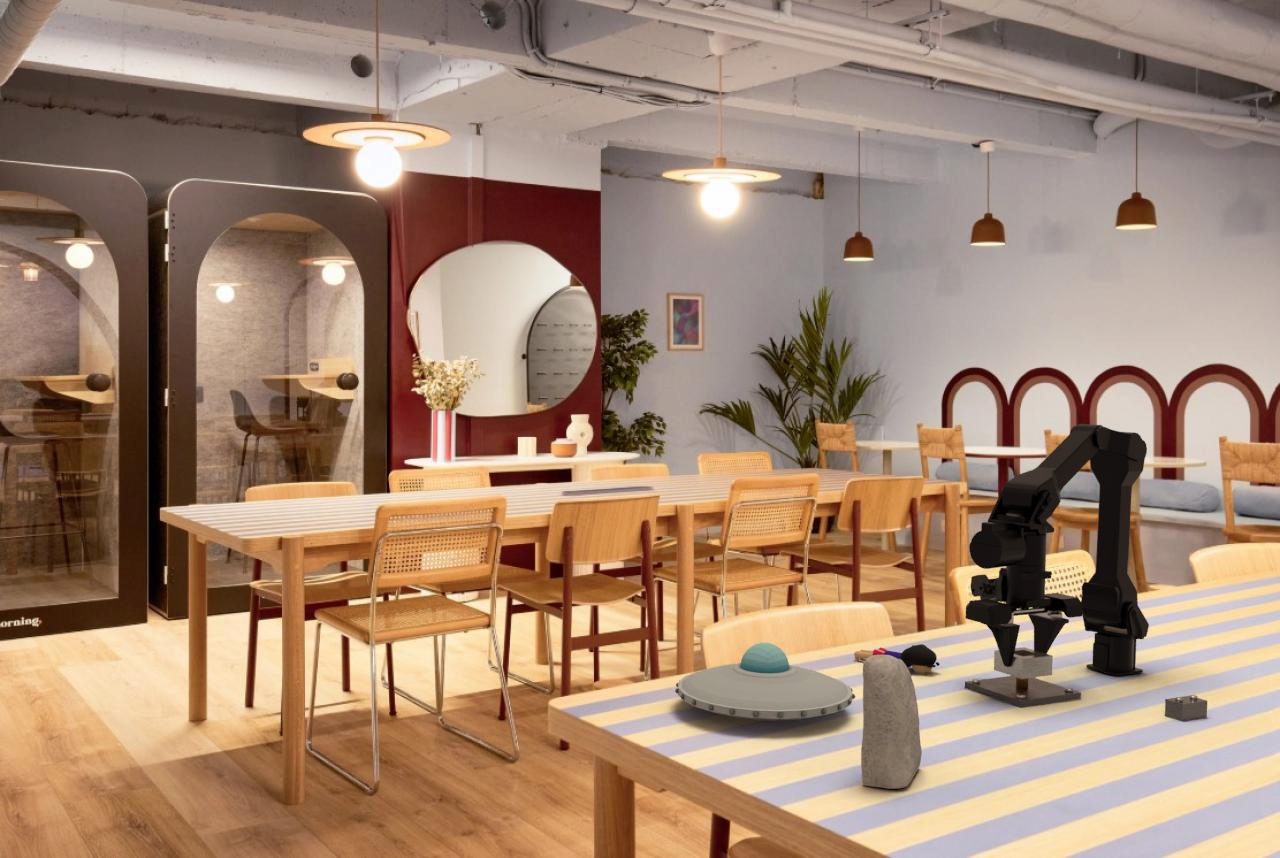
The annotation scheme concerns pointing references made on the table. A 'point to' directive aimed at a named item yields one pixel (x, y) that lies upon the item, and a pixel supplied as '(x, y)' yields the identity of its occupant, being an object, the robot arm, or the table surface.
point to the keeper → (1022, 691)
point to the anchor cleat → (1186, 708)
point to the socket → (1025, 663)
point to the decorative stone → (889, 724)
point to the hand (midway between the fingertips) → (1022, 664)
